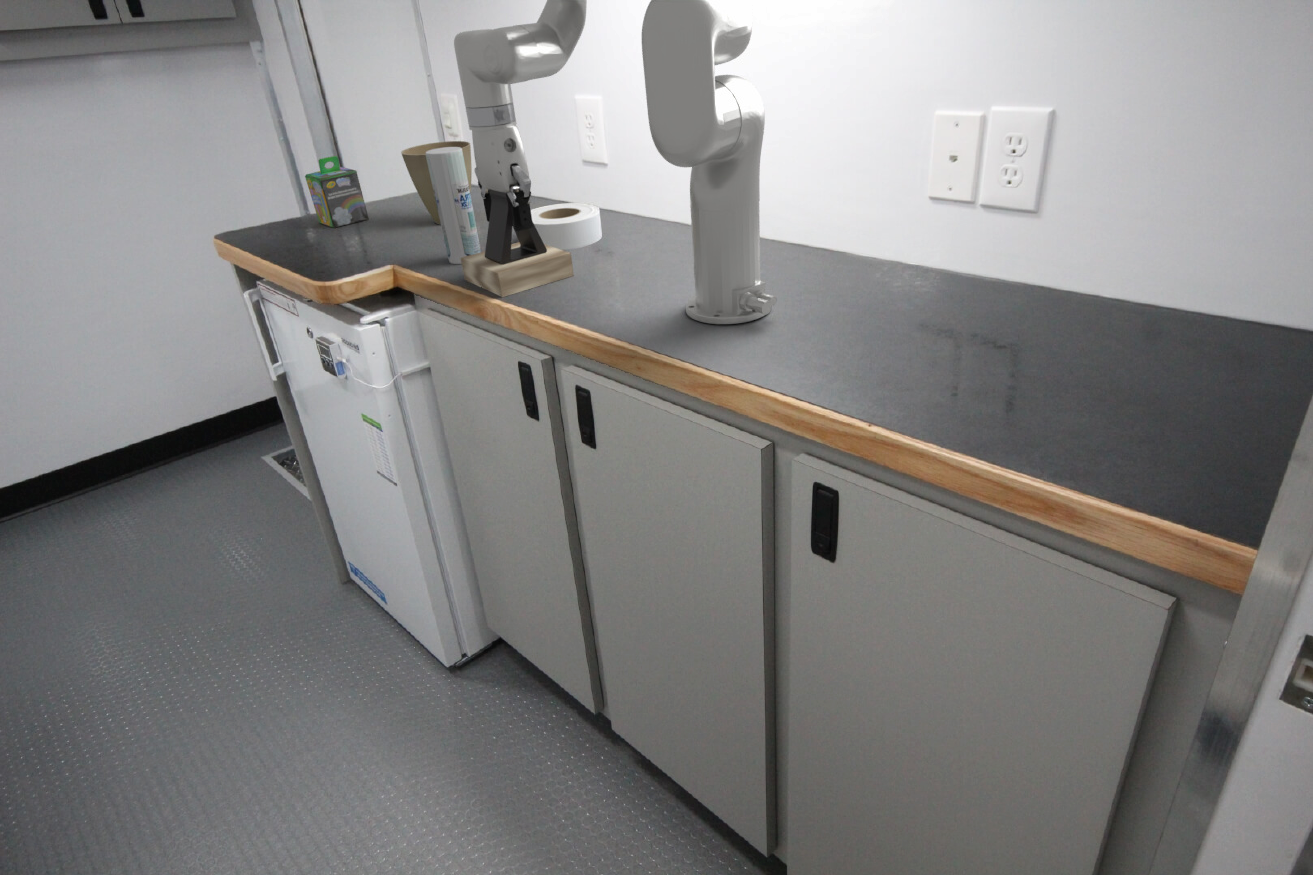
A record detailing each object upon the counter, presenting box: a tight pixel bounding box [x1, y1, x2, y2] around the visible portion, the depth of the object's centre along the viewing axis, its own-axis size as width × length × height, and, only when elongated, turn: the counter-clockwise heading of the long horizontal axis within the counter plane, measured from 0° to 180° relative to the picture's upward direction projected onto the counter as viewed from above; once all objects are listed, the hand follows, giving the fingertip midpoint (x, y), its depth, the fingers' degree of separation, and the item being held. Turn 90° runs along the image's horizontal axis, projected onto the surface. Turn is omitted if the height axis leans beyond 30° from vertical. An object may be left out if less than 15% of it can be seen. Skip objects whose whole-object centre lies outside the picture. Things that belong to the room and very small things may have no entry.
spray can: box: [425, 147, 482, 265], centre depth 147 cm, size 6×6×20 cm
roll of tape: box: [530, 202, 603, 251], centre depth 157 cm, size 16×16×6 cm
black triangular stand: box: [484, 189, 547, 265], centre depth 134 cm, size 9×6×12 cm, turn 127°
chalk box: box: [304, 155, 369, 229], centre depth 184 cm, size 9×9×15 cm
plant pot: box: [400, 140, 473, 225], centre depth 176 cm, size 15×15×16 cm
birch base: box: [461, 241, 575, 298], centre depth 138 cm, size 14×14×4 cm
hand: (509, 224), depth 134 cm, fingers open, 9 cm apart
